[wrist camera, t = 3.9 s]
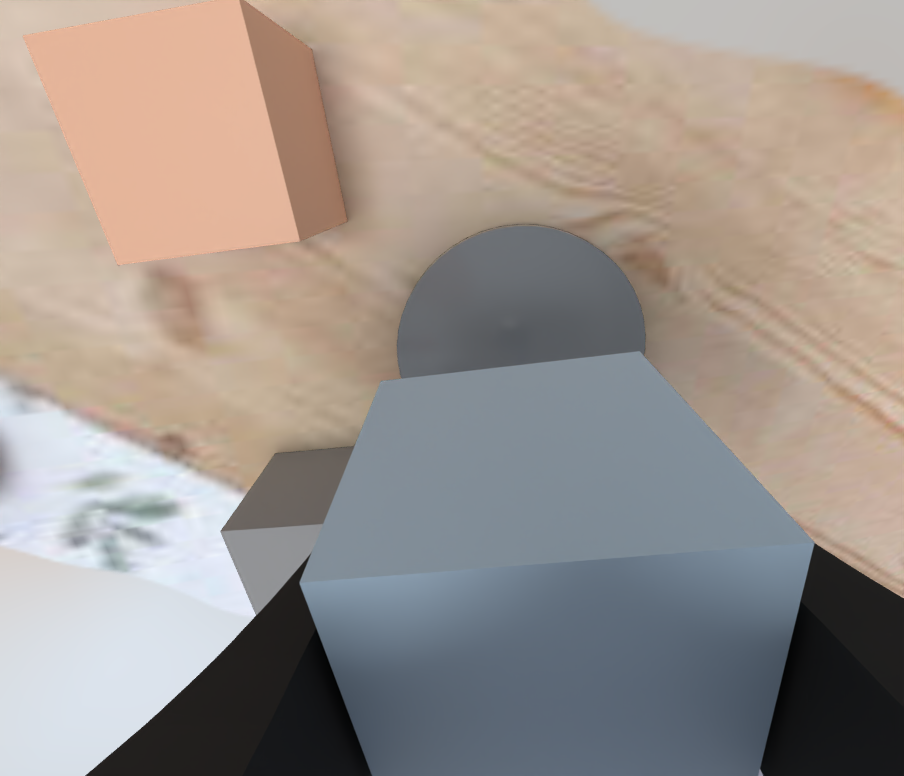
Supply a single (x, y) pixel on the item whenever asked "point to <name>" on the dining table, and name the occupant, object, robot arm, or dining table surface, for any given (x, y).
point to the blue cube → (554, 579)
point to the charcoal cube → (282, 518)
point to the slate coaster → (517, 304)
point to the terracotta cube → (193, 129)
